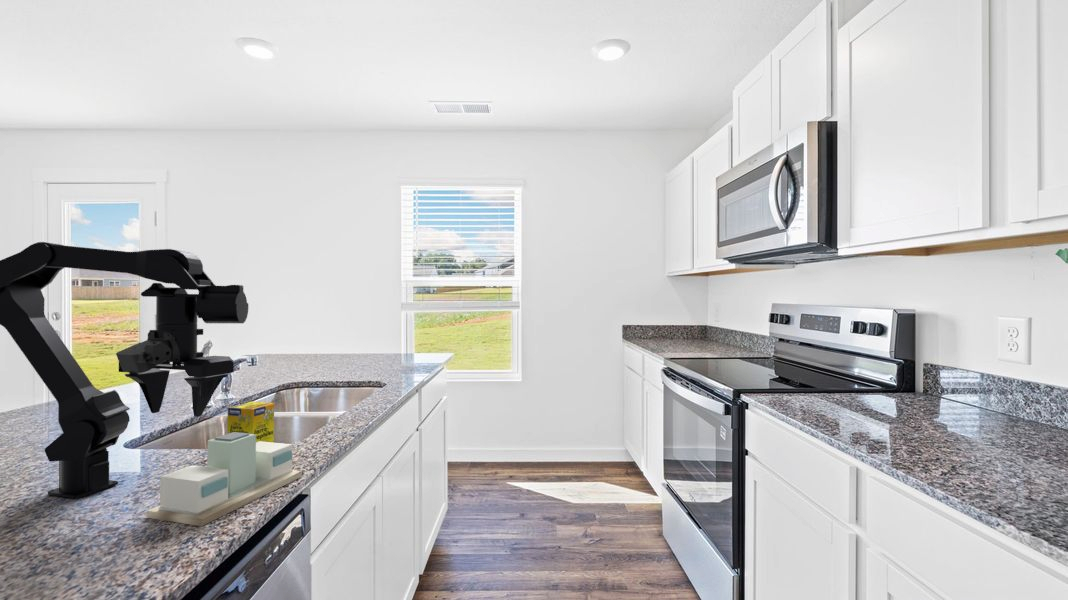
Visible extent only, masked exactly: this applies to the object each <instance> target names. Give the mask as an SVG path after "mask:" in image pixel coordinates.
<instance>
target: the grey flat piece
mask: <svg viewBox="0 0 1068 600" xmlns="http://www.w3.org/2000/svg"><path fill="white" fill-rule="evenodd" d="M293 470H294V469H293V468H292V470H290V471H287V472H285V473H283V474H281V475H279V476H277V477H274V478H272V479H264V478H256V482H255V483H253V484H251V485H249V486H246V487H244V488H242V489H240V490H238V491H235V492H233V493H231V494H228V499H227V500H225V501H223V502H220V503H218V504H216V505H214V506H212V507H210V508H207V509H205V510H203V511H201V512H199V513H197V512H190V511H183V510H177V509H170V508H163V507H159V508H158V511H165V512H172V513H178V514H185V515H192V516H198V515H200V514H203V513H205V512H207V511H209V510H211V509H213V508H215V507H218V506H220V505H222V504H224V503H226V502H228V501H230V500H232V499H235V498H237V497H239V496H241V495H243V494H245V493H247V492H250V491H252V490H254V489H256V488H258V487H260V486H262V485H264V484H267V483H269V482H271V481H273V480H275V479H277V478H279V477H282V476H284V475H286V474H288V473H290V472H292V471H293Z"/></svg>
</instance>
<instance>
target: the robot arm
mask: <svg viewBox="0 0 1068 600" xmlns="http://www.w3.org/2000/svg"><path fill="white" fill-rule="evenodd" d="M203 266H204V265H203V262H202V260H201V259H200V257H198V255H197V254H195V253H192V252H189V251H182V250H177V249H172V248H163V249H162V248H159V249H145V250H139V251H123V250H111V249H101V248H94V247H93V248H92V247H83V246H82V247H81V246H72V245H64V244H60V243H53V242H52V243H51V242H45V241H39V242H36V243H32V244H30V245H29V246H27V247H25V248H24V249H23V250H21V251H19V252H18V253H15V254H13V255H10V256H7V257H5V258H3V259H1V260H0V326H2V327H4V329H5V330H6V331H7V333H8V334H9V335H10V336H11V338H12V340H13V342H14V343H15V344H16V345H17V346H18V348H19V350H20V351H21V352H22V354H23V355H24V357H25V358H26V359H27V361H28V362H29V363H30V365H31V367H32V368H33V369H34V371H35V372H36V374H37V375H38V376H39V378H40V379H41V381H42V382H43V384H45V387H46V388H47V389H48V390H49V392H50V394H52V396H53V398H54V399H55V400H56V401H57V405H58V409H57V411H58V414H57V415H58V418H57V419H58V421H57V422H58V425H59V426H60V429H61V431H62V433H61V434H60V435H59V436H58V437H57V438H55V439H54V440H53V441H52V442H51V443H49V444H48V445H47V446H46V447H45V448H44V452H45V455H46V457H47V460H48V461H49V462H58V487H57V488H54V489H50V490H48V491H47V495H49V496H56V497H61V498H62V497H63V498H67V499H69V498H70V499H80V498H82V497H85V496H89V495H91V494H93V493H97V492H99V491H102V490H105V489H108V488H112V487H114V486H116V485H119V481H118V480H112V479H110V460H109V456H110V455H109V453H110V451H109V450H108V449H107V448H109V447H112V446H115V445H116V444H117V442H118V440H119V437H120V436H121V435H122V434H124V432H125V431H126V430H127V428H128V425H129V422H130V421H131V420H130V415H129V412H128V411H129V410H131V408H130V407H129V406H127V405H126V404H125V403H124V402H123V400H122V398H121V397H120V395H119V393H118V392H117V390H115V389H113V390H110V391H107V392H103V391H101V390H100V389H98V388H96V387H95V386H94V384H93V383H92V382H91V381H90V379H89V378H88V376H87V374H86V373H85V372H84V370H83V368H81V366H80V364H79V363H78V362H77V360H76V359H75V357H74V356H73V355H72V352H71V351H70V350H69V349H68V347H67V346H66V344H65V343H64V342H63V340H62V339H61V337H60V336H59V334H58V333H57V331H56V330H55V328H54V327H53V326H52V324H51V323H50V322H49V320H48V319H47V317H46V315H45V301H46V299H45V297H44V294H43V292H42V290H43V289H44V288H46V287H48V286H49V285H50V284H51V283H52V282H53V281H54V279H55V278H56V277H57V275H58V274H59V273H60V271H62V270H63V269H64V268H66V269H67V268H68V269H78V270H79V269H80V270H89V271H101V272H112V273H125V274H130V275H134V276H137V277H141V278H143V279H146V280H152V281H155V282H153V283H151V285H150V286H149V287H148V288H146V289H145V290H143V291H142V292H141V293H140V295H141V296H142V297H145V298H146V297H150V298H151V297H153V298H154V297H156V308H155V309H156V312H155V313H156V314H155V317H156V318H155V319H156V320H155V321H156V322H155V323H156V324H155V329H150V330H149V332H148V333H147V339H146V340H144V341H141V342H138V343H136V344H133V345H131V346H129V347H127V348H124V349H121V350H119V351H118V352H116V353H115V356H116V357H117V360H118V372H119V373H124V376H125V377H126V378H129V379H131V380H132V381H134V382H136V383H138V386H139V388H140V389H141V391H142V393H143V395H144V397H145V400H146V403H147V405H148V407H149V410H150V412H151V413H152V414H157V413H159V412H160V411H161V408H162V405H163V402H164V397H165V392H166V388H167V384H168V381H169V375H170V372H171V370H174V371H175V370H177V371H178V370H179V371H180V370H181V371H184V372H185V373H186V375H187V376H188V377H185V378H184V381H185V382H186V383H187V384H188V385H189V386H190V387H191V396H192V397H191V401H192V413H193V417H195V418H198V417H201V416H202V415H203V414H204V412H205V409H206V408H207V405H208V404H209V402H210V401H211V400H212V399H211V398H212V396H213V395H214V393H215V392H216V390H217V388H218V387H219V385H220V384H221V382H222V381H223V379H224V378H228V377H229V374H231V373H235V372H234V370H235V369H234V366H235V365H234V364H235V361H234V360H233V359H232V358H231V357H230V356H228V355H227V356H226V355H210V356H209V355H208V356H204V352H203V351H198V336H202V335H204V328H198V319H201V320H202V321H203V323H205V324H244V323H245V322H246V320H247V318H248V314H249V303H248V301H247V297H246V294H245V292H244V285H243V284H229V285H216V284H215V283H214V282H213V281H212V279H211V278H210V277H209V276H208V274H207V273H206V272H205V271H204V267H203ZM162 283H164V284H172V285H176V286H177V287H173V286H171V287H168V286H167V287H166V286H164V285H163V284H162ZM187 290H196V291H198V293H188V292H187Z"/></svg>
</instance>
